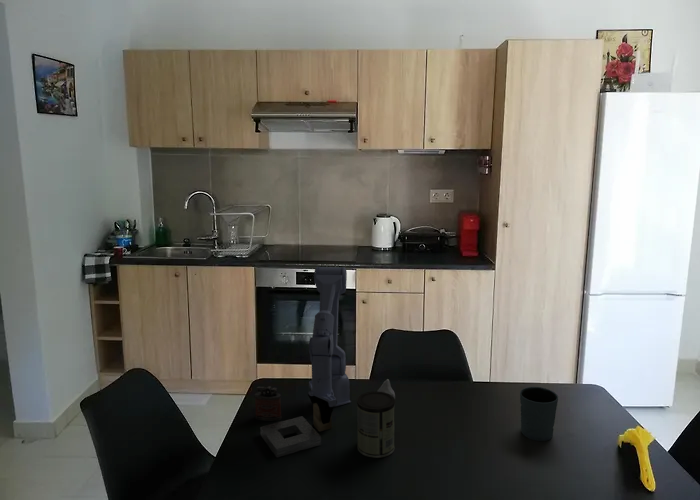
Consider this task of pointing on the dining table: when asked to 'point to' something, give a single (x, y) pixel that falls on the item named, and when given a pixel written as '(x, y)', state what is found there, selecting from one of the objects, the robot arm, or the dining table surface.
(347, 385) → the robot arm
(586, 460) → the dining table surface
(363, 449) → the coffee can
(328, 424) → the peg
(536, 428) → the dark grey cup
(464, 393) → the dining table surface
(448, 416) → the dining table surface
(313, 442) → the square hole board
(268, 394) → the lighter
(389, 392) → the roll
